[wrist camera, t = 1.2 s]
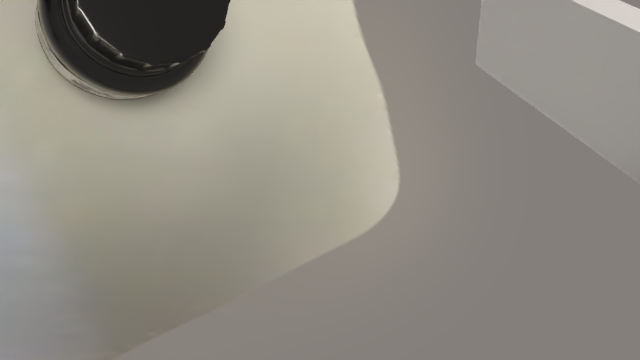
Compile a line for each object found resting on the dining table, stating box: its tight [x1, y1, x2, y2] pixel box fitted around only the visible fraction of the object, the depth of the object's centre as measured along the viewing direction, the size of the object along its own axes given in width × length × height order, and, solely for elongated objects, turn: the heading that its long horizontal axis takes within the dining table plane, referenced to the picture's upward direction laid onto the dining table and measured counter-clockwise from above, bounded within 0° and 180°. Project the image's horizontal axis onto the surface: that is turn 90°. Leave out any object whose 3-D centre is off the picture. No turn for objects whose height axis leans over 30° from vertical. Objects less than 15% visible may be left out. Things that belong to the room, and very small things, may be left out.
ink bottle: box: [35, 0, 230, 99], centre depth 31 cm, size 10×9×12 cm
